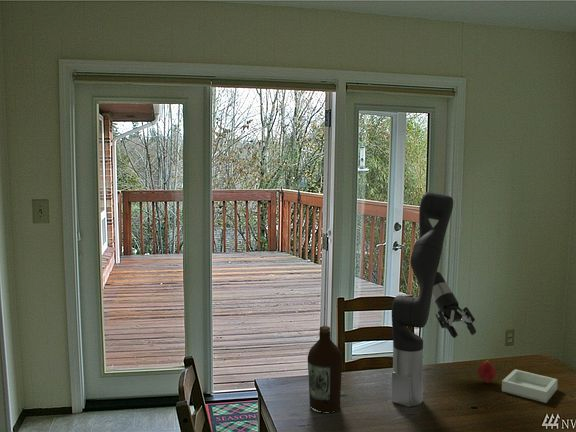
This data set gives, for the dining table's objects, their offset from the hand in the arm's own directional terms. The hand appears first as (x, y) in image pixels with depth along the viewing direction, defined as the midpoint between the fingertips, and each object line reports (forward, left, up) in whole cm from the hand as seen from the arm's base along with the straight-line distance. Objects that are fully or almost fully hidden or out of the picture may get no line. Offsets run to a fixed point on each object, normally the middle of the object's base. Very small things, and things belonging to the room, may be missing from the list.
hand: (465, 335), depth 178 cm
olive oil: (-55, +22, -14) cm, 61 cm away
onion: (-4, -9, -14) cm, 17 cm away
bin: (-1, -22, -14) cm, 26 cm away
